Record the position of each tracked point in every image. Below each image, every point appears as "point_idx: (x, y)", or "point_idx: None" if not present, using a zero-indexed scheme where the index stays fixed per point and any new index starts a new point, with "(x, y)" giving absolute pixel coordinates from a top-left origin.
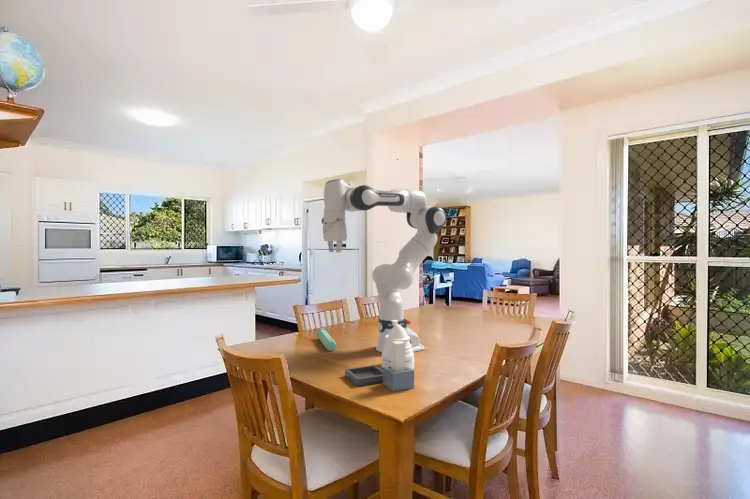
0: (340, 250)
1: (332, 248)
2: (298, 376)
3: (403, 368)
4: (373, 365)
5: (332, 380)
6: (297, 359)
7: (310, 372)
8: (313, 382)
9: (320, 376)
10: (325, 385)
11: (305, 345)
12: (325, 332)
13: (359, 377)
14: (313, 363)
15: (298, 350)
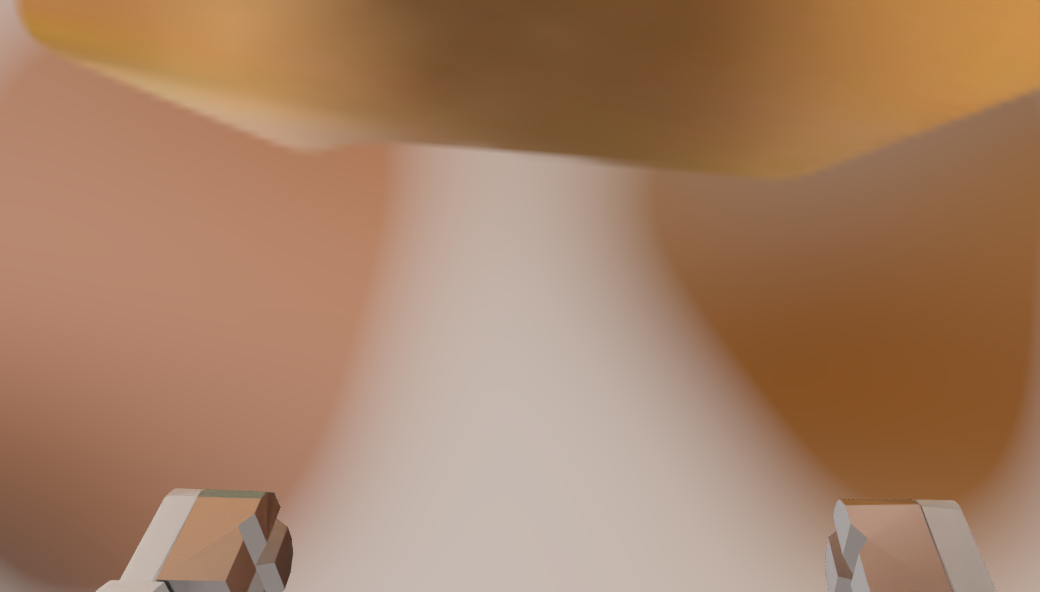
0: (968, 548)
1: (244, 587)
2: (796, 174)
3: None
4: None
5: (969, 20)
6: (486, 123)
7: (764, 104)
8: (933, 124)
9: (862, 67)
10: (1018, 77)
11: (155, 10)
12: None
13: None
14: (603, 51)
15: (282, 81)
